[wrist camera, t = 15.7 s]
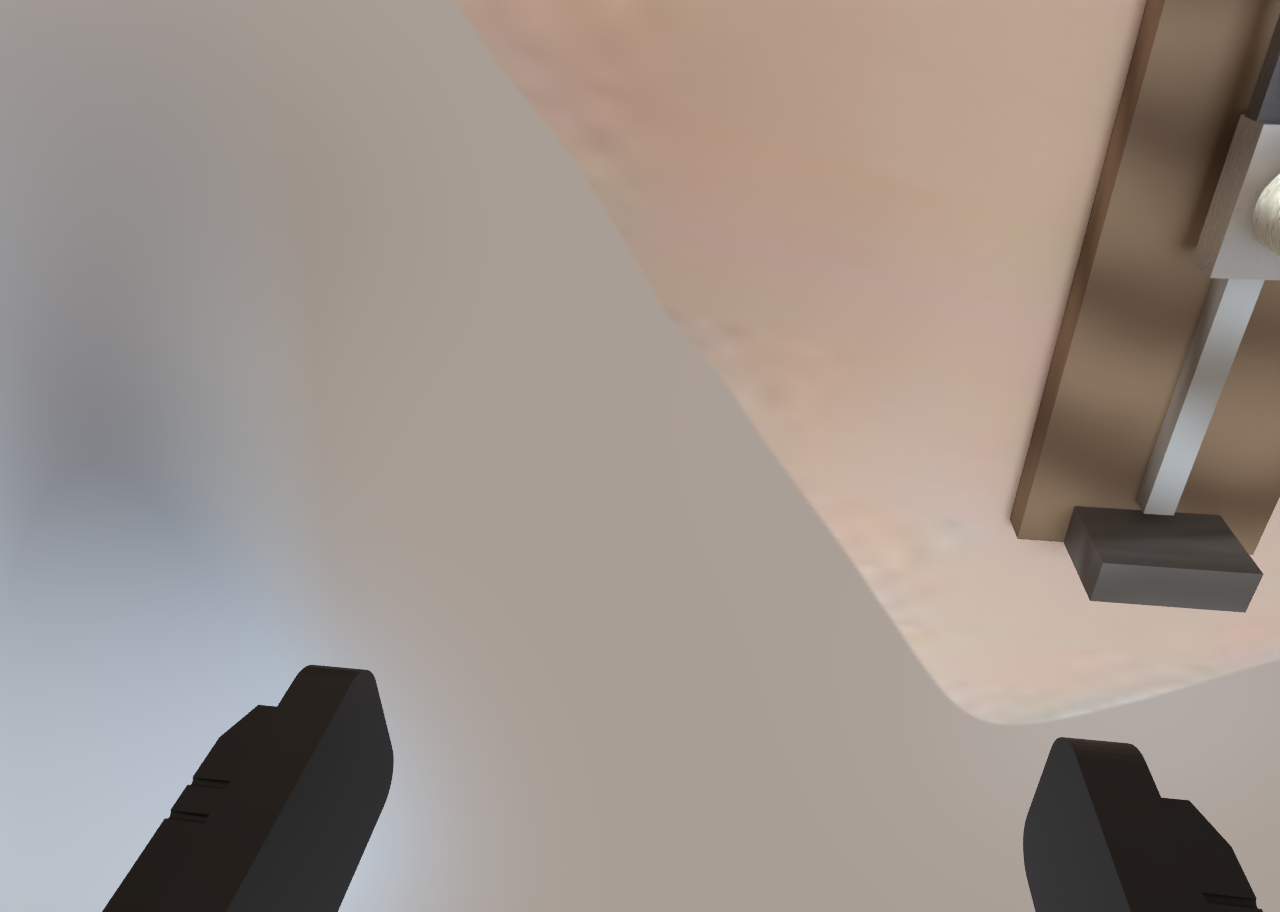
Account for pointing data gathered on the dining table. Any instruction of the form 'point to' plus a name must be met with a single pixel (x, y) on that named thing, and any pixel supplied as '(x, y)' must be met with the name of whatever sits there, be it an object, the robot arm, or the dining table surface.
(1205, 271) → the slider
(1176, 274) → the track
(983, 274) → the dining table surface
